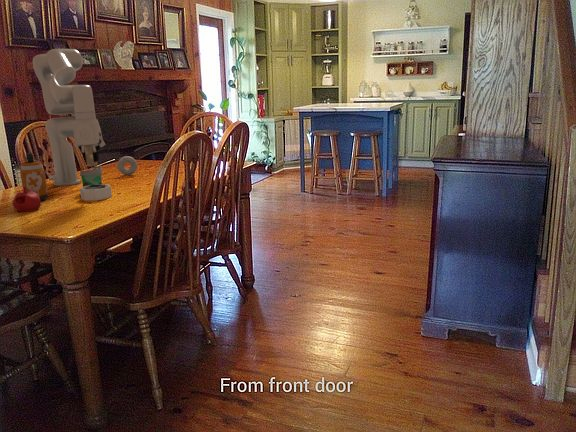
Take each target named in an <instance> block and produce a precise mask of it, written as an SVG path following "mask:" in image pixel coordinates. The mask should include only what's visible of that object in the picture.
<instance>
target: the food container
mask: <svg viewBox="0 0 576 432" xmlns="http://www.w3.org/2000/svg"><path fill="white" fill-rule="evenodd" d="M103 171H104V170H103V169H102V168H101V166H98V165H95V166H94V168H92V169H91V168H90V169H86V170H80V172H79V176H80V178H81V183H82V187H84V186H89V185H95V184H103V182H102V174H103Z"/></svg>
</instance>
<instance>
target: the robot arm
mask: <svg viewBox="0 0 576 432" xmlns="http://www.w3.org/2000/svg"><path fill="white" fill-rule="evenodd" d="M83 61H84V60H83V57H82V55H81V52H79V51H78V50H77V49H76V48H75V49H74V48H53V49H50V50H48V51H47V53H43V54H37V55H35V56H34V57H33V58H32V68H33V71H34V73H35V76H36V77H37V79H38V81H39V84H40V86H41V90H42V96H43V102H44V106H45V110H46V113H48V114H49V115H51V116H52V115H55V116H57V115H72V116H61V117H52V118H49V119H48V120H46V121H45V126H44V127H45V130H46V133H47V138H48V140H49V144H50V145H49V146H50V150H51V155H52V162H53V170H54V175H48V180H49V181H53V182H52V184H53V186H57V187H64V186H66V187H67V186H72V185H73V186H74V185H78V184H81V183H82V179H80V178H78V173H77V167H76V166H77V165H76V161H75V154H74V147H75V148H77V149H79V150H80V151H81V153H83V160H84V163H87V161H86V154H85V147H84V145H92V147H93V160H94V162H97V163H98V162H99V159H100V155H99V152H100V150H101V149H102V148H103V147H104V146H106V143H105V141H104V139H103V134H102V129H101V126H100V123H99V120H98V119H97V117H96V110H95V103H94V94H93V89H92V87H91V85H88V84H70V83H71V82H73V81H74V80H75V78H76V75H77V73H76V72H77V71H79V70H81V69H82V67H83V63H84V62H83ZM68 138H73V139H74V144H73V145H72V143H70V141H68V140H67V139H68ZM73 146H74V147H73Z"/></svg>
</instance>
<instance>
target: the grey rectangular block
mask: <svg viewBox="0 0 576 432" xmlns="http://www.w3.org/2000/svg"><path fill="white" fill-rule="evenodd" d="M84 147H85V154H86V161H87V162H86V167H95V166H98V162H94V160H93V147H92V145H84Z"/></svg>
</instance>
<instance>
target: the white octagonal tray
mask: <svg viewBox="0 0 576 432" xmlns="http://www.w3.org/2000/svg"><path fill="white" fill-rule="evenodd" d="M104 184H105V183H104ZM95 185H98V184H95ZM89 186H90V185H89ZM86 187H88V186H84V187H83V186H82V187H79V192H80V198H81V200H83V201H84V202H86V201H87V202H89V201H91V202H93V201H94V202H95V201H101V200H107V199H109V198H111V197H112V196H113V194H112V185H110V184H107V183H106V184H105V188H101V189H95V190H86Z"/></svg>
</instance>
